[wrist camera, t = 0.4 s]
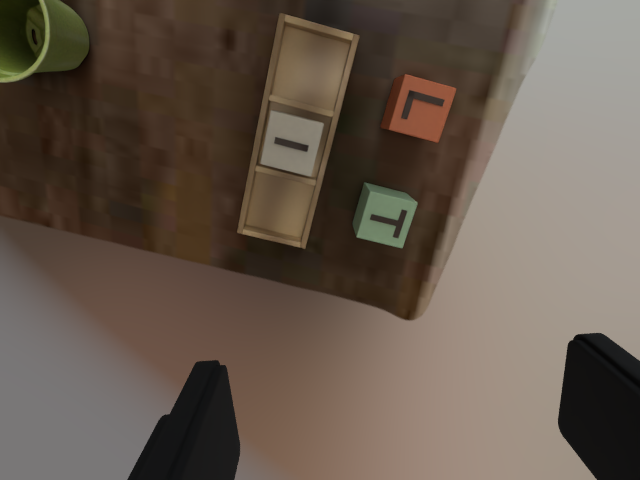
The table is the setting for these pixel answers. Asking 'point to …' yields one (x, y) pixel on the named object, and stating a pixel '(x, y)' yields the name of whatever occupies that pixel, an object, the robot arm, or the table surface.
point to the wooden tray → (304, 101)
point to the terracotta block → (418, 107)
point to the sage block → (383, 215)
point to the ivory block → (291, 143)
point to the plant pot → (39, 38)
